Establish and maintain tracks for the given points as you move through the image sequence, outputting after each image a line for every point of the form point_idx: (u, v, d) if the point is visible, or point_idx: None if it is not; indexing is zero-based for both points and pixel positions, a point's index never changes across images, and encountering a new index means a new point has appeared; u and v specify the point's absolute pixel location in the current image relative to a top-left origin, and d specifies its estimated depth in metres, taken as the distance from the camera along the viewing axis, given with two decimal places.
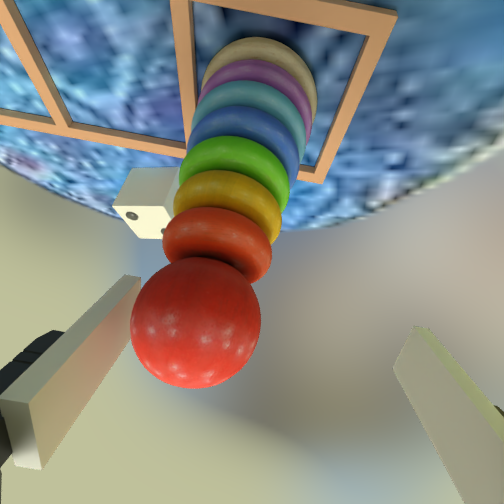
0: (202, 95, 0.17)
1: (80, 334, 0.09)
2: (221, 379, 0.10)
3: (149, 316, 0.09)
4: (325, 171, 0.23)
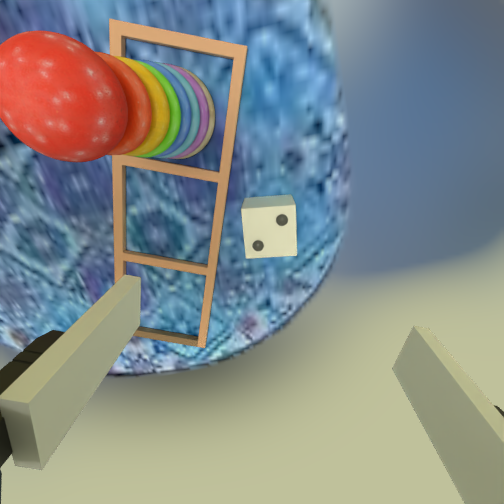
0: None
1: (80, 334, 0.09)
2: (11, 52, 0.10)
3: None
4: (230, 45, 0.24)
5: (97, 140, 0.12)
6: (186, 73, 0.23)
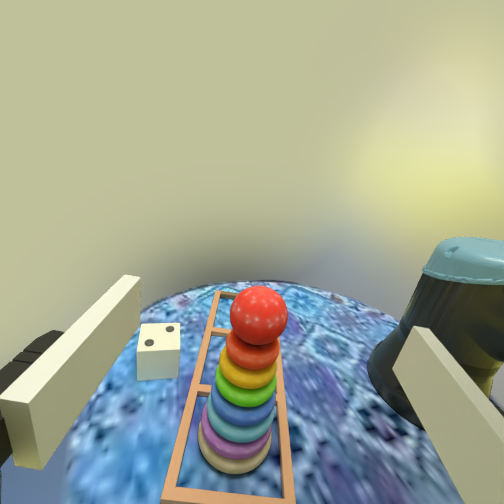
0: None
1: (80, 334, 0.09)
2: (268, 304, 0.22)
3: None
4: (177, 498, 0.24)
5: None
6: (218, 446, 0.26)
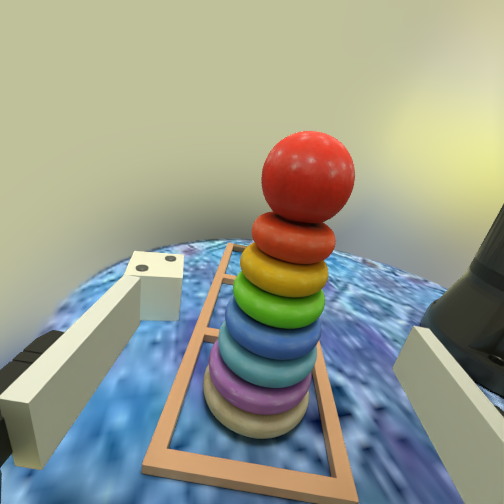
0: None
1: (80, 334, 0.09)
2: (329, 142, 0.13)
3: None
4: (169, 465, 0.15)
5: None
6: (234, 392, 0.17)
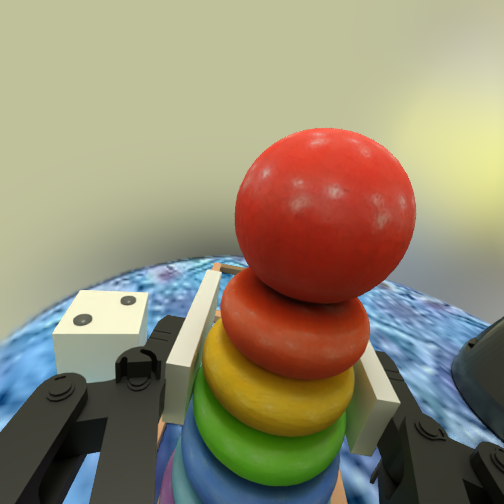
0: None
1: (199, 317, 0.11)
2: (372, 152, 0.06)
3: None
4: None
5: None
6: None
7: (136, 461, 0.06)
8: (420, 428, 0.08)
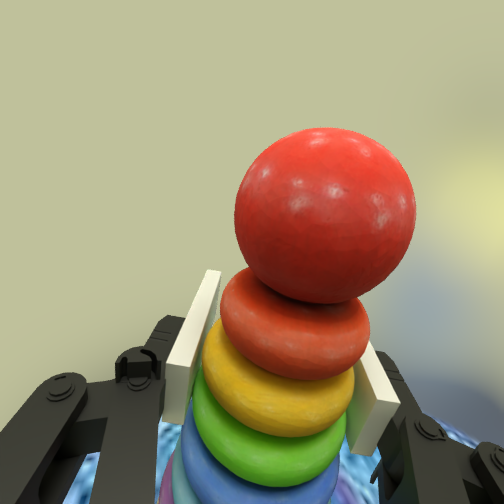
0: None
1: (199, 317, 0.11)
2: (372, 151, 0.06)
3: None
4: None
5: None
6: None
7: (136, 461, 0.06)
8: (420, 428, 0.08)
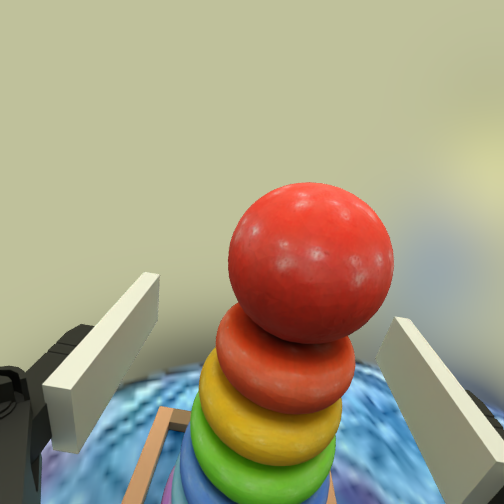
0: None
1: (110, 327, 0.09)
2: (351, 213, 0.07)
3: None
4: None
5: None
6: None
7: None
8: None
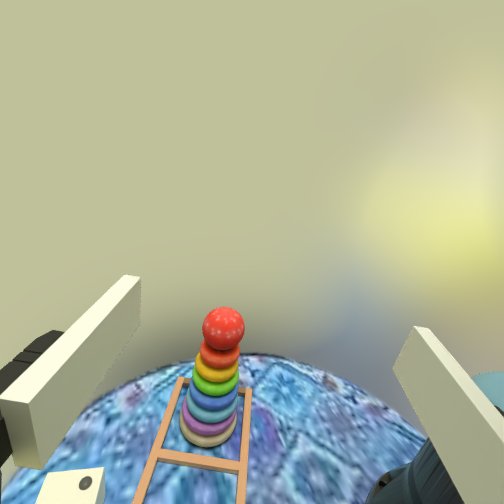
0: None
1: (80, 334, 0.09)
2: (228, 321, 0.32)
3: None
4: None
5: None
6: (192, 425, 0.35)
7: None
8: None
